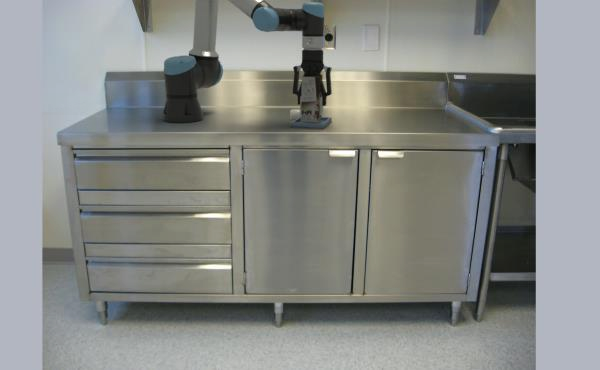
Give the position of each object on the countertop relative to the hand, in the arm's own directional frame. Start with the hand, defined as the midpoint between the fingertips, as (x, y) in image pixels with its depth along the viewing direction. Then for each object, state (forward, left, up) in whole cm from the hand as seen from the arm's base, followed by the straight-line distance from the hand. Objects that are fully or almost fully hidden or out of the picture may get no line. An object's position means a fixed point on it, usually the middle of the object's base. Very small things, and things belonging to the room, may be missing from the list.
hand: (311, 114), depth 183 cm
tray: (0, 0, -4) cm, 4 cm away
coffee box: (0, 0, -2) cm, 2 cm away
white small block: (-8, +10, -4) cm, 13 cm away
